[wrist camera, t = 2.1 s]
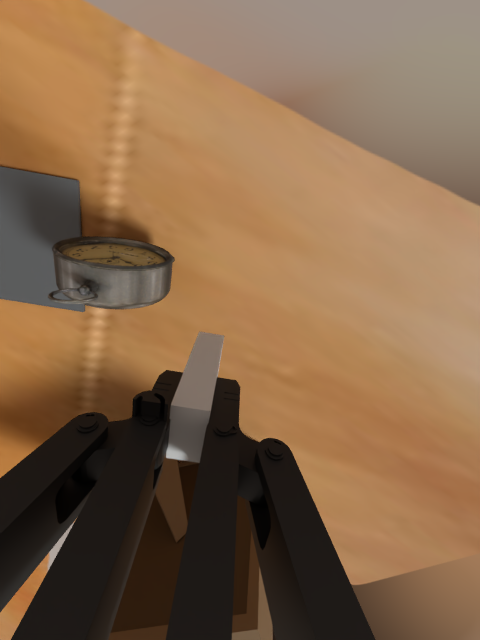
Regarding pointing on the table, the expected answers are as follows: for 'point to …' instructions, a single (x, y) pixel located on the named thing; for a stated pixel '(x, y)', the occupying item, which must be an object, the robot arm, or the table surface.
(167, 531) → the photo frame
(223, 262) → the table surface
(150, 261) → the alarm clock
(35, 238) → the mat
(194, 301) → the table surface
